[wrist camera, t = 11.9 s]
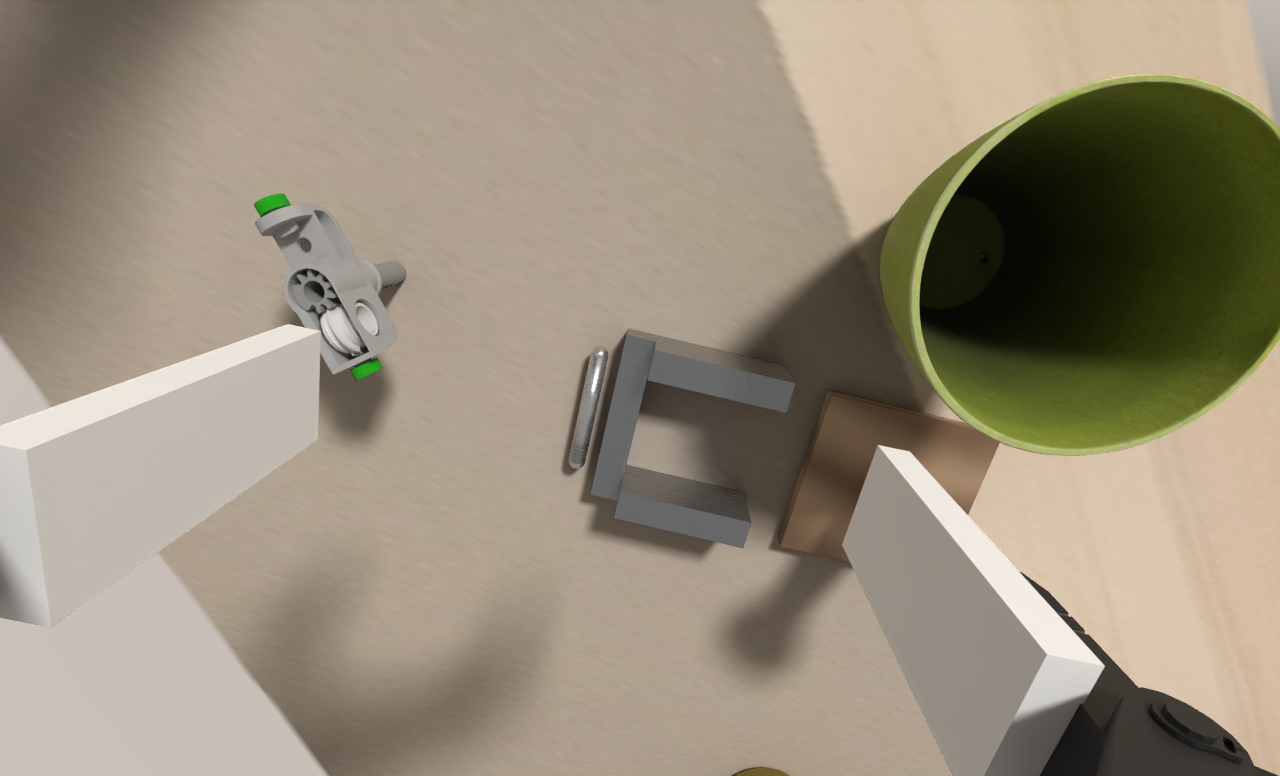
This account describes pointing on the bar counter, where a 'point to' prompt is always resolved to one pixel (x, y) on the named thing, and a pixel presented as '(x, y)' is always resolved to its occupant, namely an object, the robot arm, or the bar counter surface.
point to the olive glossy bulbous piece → (761, 772)
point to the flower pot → (1094, 265)
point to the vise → (632, 487)
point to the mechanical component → (331, 284)
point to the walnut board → (848, 454)
